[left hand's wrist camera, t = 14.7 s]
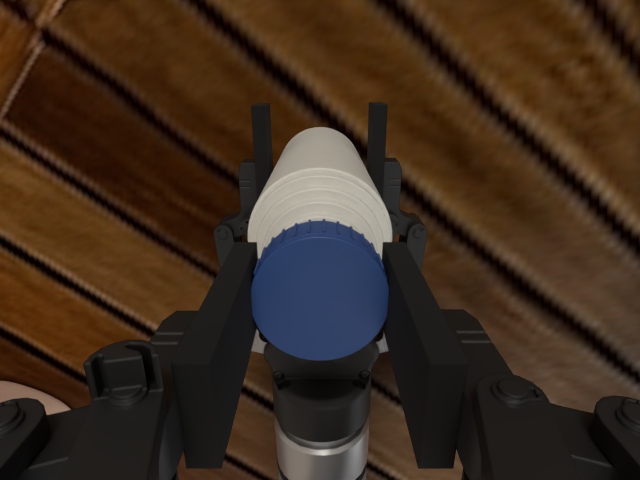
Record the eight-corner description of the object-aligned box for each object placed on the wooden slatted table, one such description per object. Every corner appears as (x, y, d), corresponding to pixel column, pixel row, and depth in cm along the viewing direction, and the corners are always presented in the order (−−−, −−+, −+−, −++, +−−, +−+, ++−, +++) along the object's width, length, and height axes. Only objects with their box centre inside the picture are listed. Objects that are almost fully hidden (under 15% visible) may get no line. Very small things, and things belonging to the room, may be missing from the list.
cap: (411, 271, 14) (422, 293, 13) (328, 355, 16) (328, 384, 14) (310, 190, 13) (309, 205, 12) (229, 287, 15) (219, 311, 13)
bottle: (376, 168, 33) (458, 297, 13) (319, 221, 35) (319, 407, 15) (320, 109, 32) (320, 156, 12) (263, 167, 33) (180, 296, 13)
